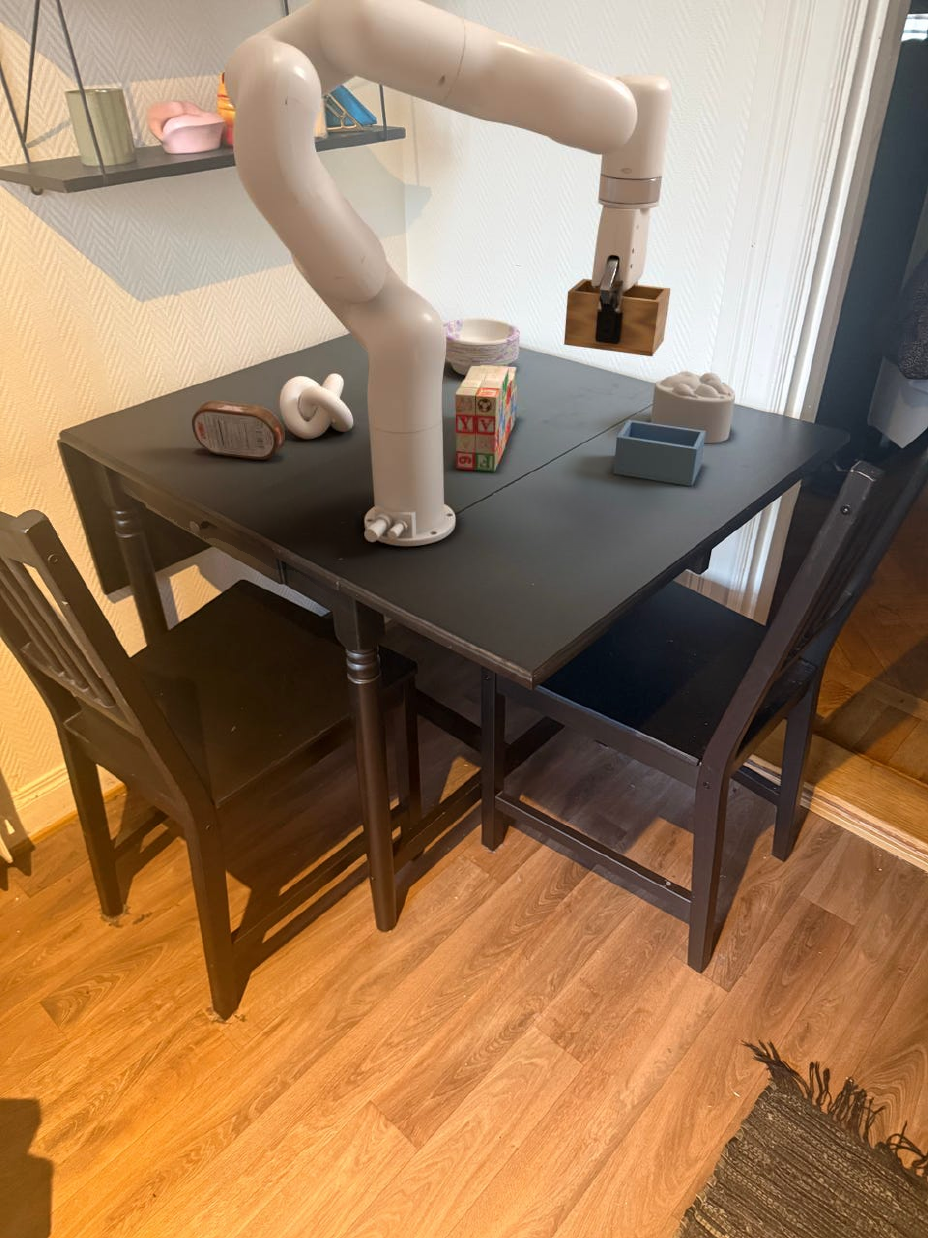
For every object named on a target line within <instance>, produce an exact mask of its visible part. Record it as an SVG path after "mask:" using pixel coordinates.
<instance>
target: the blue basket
mask: <svg viewBox="0 0 928 1238" xmlns="http://www.w3.org/2000/svg"><path fill="white" fill-rule="evenodd" d="M705 434H706V431H702V430H695V429H688V428H681V427H674V426H668V425H661V424H654V423H651V422H648V421H640V420H633V419H632V420H631V419H628V420H627V421H626V423H625V424H624V425H623V427H622V428H621V430H620V431H619V433H618V435H617V436H616V439H615V440H616V442H615V450H614V451H615V453H614V463H613V471H612V472H613V474H614V475H615V474H616V475H621V476H626V477H633V478H639V479H643V480H644V479H645V480H651V481H656V482H663V483H668V484H669V483H670V484H675V485H682V486H687V487H693V484H694V482H695V480H696V478H697V476H698V474H699V472H700V470H701V466H702V461H703V460H702V459H703V452H704V447H705V443H704V441H705Z"/></svg>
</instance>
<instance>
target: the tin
mask: <svg viewBox="0 0 928 1238" xmlns="http://www.w3.org/2000/svg"><path fill="white" fill-rule="evenodd" d="M191 429H192V432H193V435H194V437H195V440H196V441H197V442H198V443H199V444H200V445H201V447H203V448H204V450H206V451H208V452H210V453H212V454H215V455H220V456H226V457H227V456H228V457H234V458H235V457H236V458H243V459H250V460H251V459H252V460H257V461H258V460H259V461H262V460H267V459H270V458H272V457H273V456H274V455H275V454H277V452H279V451H280V450H281V449H282V447H283V445H284V443H285V440H286V434H285V430H284V429H285V428H284V426H283V424H282V422H281V421H280V419H279V418H278V417H277V416H276V414H275V413H273V412H272V411H270V409H268V408H265V407H263V406H260V405H253V404H252V405H251V404H244V403H237V402H236V403H234V402H227V401H221V400H220V401H219V400H209V401H207V402H204V403H203V404H202V405H201V406H200V407H199V408H198V410H196V412H195V413H194V414H193V416H192V418H191Z"/></svg>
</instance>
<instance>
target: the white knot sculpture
mask: <svg viewBox="0 0 928 1238" xmlns="http://www.w3.org/2000/svg"><path fill="white" fill-rule="evenodd" d="M344 382H345V381H344V379H343V377H342V376H341V374H338V373H330V374H329V375H328V376H326V378H325V380H324V382H323V383H322V385H320V384H319V383H318V382H317V381H315V380H314V379H312V378H310V377H308V376H303V375H299V376H294V377H292V378H291V379H289V380H288V381H287V382H285V384H284V385H283V387H282V389H281V390H280V395H279V410H280V413H281V418H282V420H283V422H284V424H285V426H286V427H287V428H288V430H289V431H290V432H291V433H292V434H293V435H294V436H297V437H298V438H299V439H300V438H301V439H304V440H315V439H317V438H319V437H320V436H322V435H323V434H325V432H326V431H327V430H328V429H329V427H330V426H331V428H333V430H335V431H338V432H341V433H347V432H348V431H350V430H351V429H352V428H353V426H354V419H353V418H354V417H353V414H352V411H351V410H350V408H349V407H348V406H347V405H346V403H345V402H344V401H343V400H341V395H342V392H343V389H344V386H345V383H344Z"/></svg>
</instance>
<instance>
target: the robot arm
mask: <svg viewBox="0 0 928 1238" xmlns="http://www.w3.org/2000/svg"><path fill="white" fill-rule="evenodd" d="M356 77H358V78H360V79H363V80H366V81H369V82H372V83H374V84H377V85H380V86H383V87H385V88H389V89H391V90H394V91H397V92H399V93H400V92H401V93H403V94H406V95H408V96H412V97H414V98H416V99H417V98H418V99H420V100H423V101H426V102H429V103H432V104H434V105H437V106H439V107H443V108H446V109H447V110H451V111H452V112H453V111H454V112H456V113H460V114H463V115H466V116H468V117H472V118H475V119H478V120H482V121H485V122H492V123H498V124H501V125H502V124H503V125H508V126H511V127H516V128H519V129H522V130H526V131H528V132H532V133H534V134H537V135H538V134H539V135H541V136H544V137H547V138H549V139H550V140H552V141H553V142H556V143H557V144H559V145H562V146H566V147H569V148H573V149H578V150H581V151H583V152H587V153H589V154H592V155H597V156H601V164H600V174H599V184H598V185H599V186H598V196H597V197H598V199H597V203H598V205H601V206H602V208H601V213H600V218H599V222H598V228H597V236H596V242H595V250H594V258H593V268H592V274H591V280H592V282H591V284H592V286H593V288H595V289H597V288H598V287H600V286H601V287H600V293H601V295H600V298H599V305H598V314H597V325H596V336H595V340H596V341H597V342H602V343H609V344H618V343H619V342H620V336H621V326H622V317H623V313H621V312H620V311H621V306H622V302H623V297H624V292H625V291H627V290H628V289H630V288H631V287H632V286H633V285H639V280H640V279H641V278H642V276H643V274H644V270H645V264H646V257H647V250H648V242H649V231H650V230H649V229H650V219H651V209H652V208H656V207H658V206H659V205H660V196H661V189H662V179H663V171H664V165H665V163H664V162H665V155H666V146H667V138H668V131H669V130H668V129H669V122H670V120H669V119H670V114H671V113H670V112H671V104H672V97H673V96H672V95H673V89H672V84H671V82H670V81H669V80H668V78H666V77H664V76H661V75H652V74H624V75H618V76H616V77H613V76H610V75H608V74H605V73H602V72H600V71H597V70H595V69H592V68H590V67H589V66H585V65H582V64H580V63H578V62H575V61H573V60H569V59H567V58H564V57H562V56H559V55H557V54H554V53H552V52H549V51H546V50H544V49H540V48H539V47H535V46H533V45H531V44H528V43H525V42H523V41H521V40H518V39H516V38H514V37H512V36H510V35H507V34H505V33H502V32H500V31H497V30H494V29H492V28H489V27H487V26H484V25H482V24H479V23H478V22H477V23H476V22H474V21H471V20H469V19H465V18H464V17H461V16H458V15H456V14H454V13H451V12H449V11H446V10H444V9H442V8H439V7H436V6H435V5H432V4H430V3H427V2H425V1H422V0H312V1H309V2H308V3H306V4H305V5H303V6H301V7H300V8H298V9H296V10H295V11H293V12H291V13H290V14H288V15H286V16H284V17H283V18H281V19H279V20H277V21H275V22H274V23H272V24H270V25H269V26H267V27H265V28H264V29H262V30H260V31H258V32H256V33H255V34H253V35H251V36H249V37H248V38H246V39H244V40H243V41H242V42H240V43H239V44H237V46H236V48H234V50H233V51H232V52H231V54H230V55H229V57H228V59H227V61H226V65H225V68H224V75H223V81H224V89H225V93H226V96H227V98H228V101H229V103H230V105H231V106H232V108H233V109H234V118H233V124H232V149H233V156H234V157H233V158H234V164H235V167H236V172H237V174H238V177H239V179H240V183H241V185H242V187H243V189H244V190H245V192H246V194H247V196H248V198H249V199H250V200H251V202H252V203H253V205H254V206H255V208H256V209H257V210H258V212H259V213H260V215H261V216H262V217H263V219H264V220H265V221H266V222H267V223H268V225H269V226H270V228H271V229H272V230H273V231H274V233H275V234H276V235H277V237H278V238H279V240H280V241H281V242H282V243H283V245H284V246H285V247H286V248H287V250H288V251H289V253H290V256H291V259H292V262H293V264H294V266H295V268H296V270H297V271H298V272H299V274H300V275H301V276H302V277H303V279H304V280H305V282H307V284H308V285H309V286H310V288H311V289H312V290H313V291H314V292H315V293H316V295H317V296H318V297H319V298H320V299H321V300H322V302H323V303H324V304H325V305H326V307H327V308H328V309H329V310H330V311H331V312H332V314H333V315H334V316H335V318H337V319H338V321H339V322H340V323H341V324H342V326H343V327H344V328H345V329H346V330H347V331H348V333H349V334H350V335H351V336H352V337H353V338H354V339H355V340H356V342H357V343H358V344H359V345H360V346H361V347H362V349H363V350H364V351H365V352H366V354H367V357H368V370H369V371H368V379H367V395H366V396H367V397H366V398H367V416H368V417H367V418H368V428H369V441H370V454H371V455H370V457H371V472H372V487H373V488H372V489H373V503H374V506H373V507H372V508H370V509H369V510H368V511H367V513H366V514H365V515H364V529H365V531H364V532H363V534H364V538H365V539H366V540H367V541H368V542H370V543H375V542H376V541H378V542H380V543H383V544H386V545H390V546H396V547H418V546H426V545H429V544H430V545H431V544H433V543H436V542H439V541H441V540H443V539H445V538H447V537H448V536H449V535H451V533H452V532H453V531H454V530H455V527H456V514H455V512H454V510H453V509H452V508H451V507H450V506H449V505H447V504H445V488H444V487H445V484H444V481H445V479H444V438H443V437H444V435H443V434H444V433H443V427H444V426H443V377H444V368H445V363H446V362H445V361H446V360H445V355H446V334H445V329H444V325H445V324H444V323H443V319H442V318H441V316H440V314H439V313H438V311H437V310H436V309H435V307H434V306H433V305H432V304H431V303H430V302H429V301H428V300H427V299H426V298H425V297H423V296H422V295H421V294H420V293H418V292H417V291H416V290H414V289H412V288H411V286H410V285H409V286H408V285H407V284H406V283H405V282H404V281H403V279H401V277H400V276H399V275H398V274H397V273H396V271H395V270H394V268H393V267H392V266H391V264H390V263H389V261H388V260H387V256H386V252H385V250H384V247H383V244H382V242H381V241H380V239H379V237H378V236H377V234H376V233H375V231H374V230H373V229H372V228H371V226H369V224H368V223H366V222H365V221H364V220H363V218H362V217H361V216H360V215H359V213H358V212H357V211H356V210H355V208H354V207H353V205H352V204H351V203H350V202H349V200H348V199H347V198H346V196H345V195H344V193H342V191H341V189H339V187H338V185H337V184H336V182H335V181H334V180H333V178H332V176H331V174H330V173H329V172H328V170H327V169H326V167H324V165H323V163H322V161H321V159H320V157H319V156H318V152H317V148H316V141H315V132H316V125H317V121H318V117H319V114H320V109H321V105H322V98H323V97H325V96H327V95H329V94H330V93H332V92H334V91H335V90H337V89H338V88H340V87H341V86H343V85H345V84H346V83H347V82H349V81H350V80H352V79H354V78H356ZM614 284H621V287H613V285H614ZM612 294H618V297H617V302H616V298H615V295H612Z"/></svg>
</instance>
